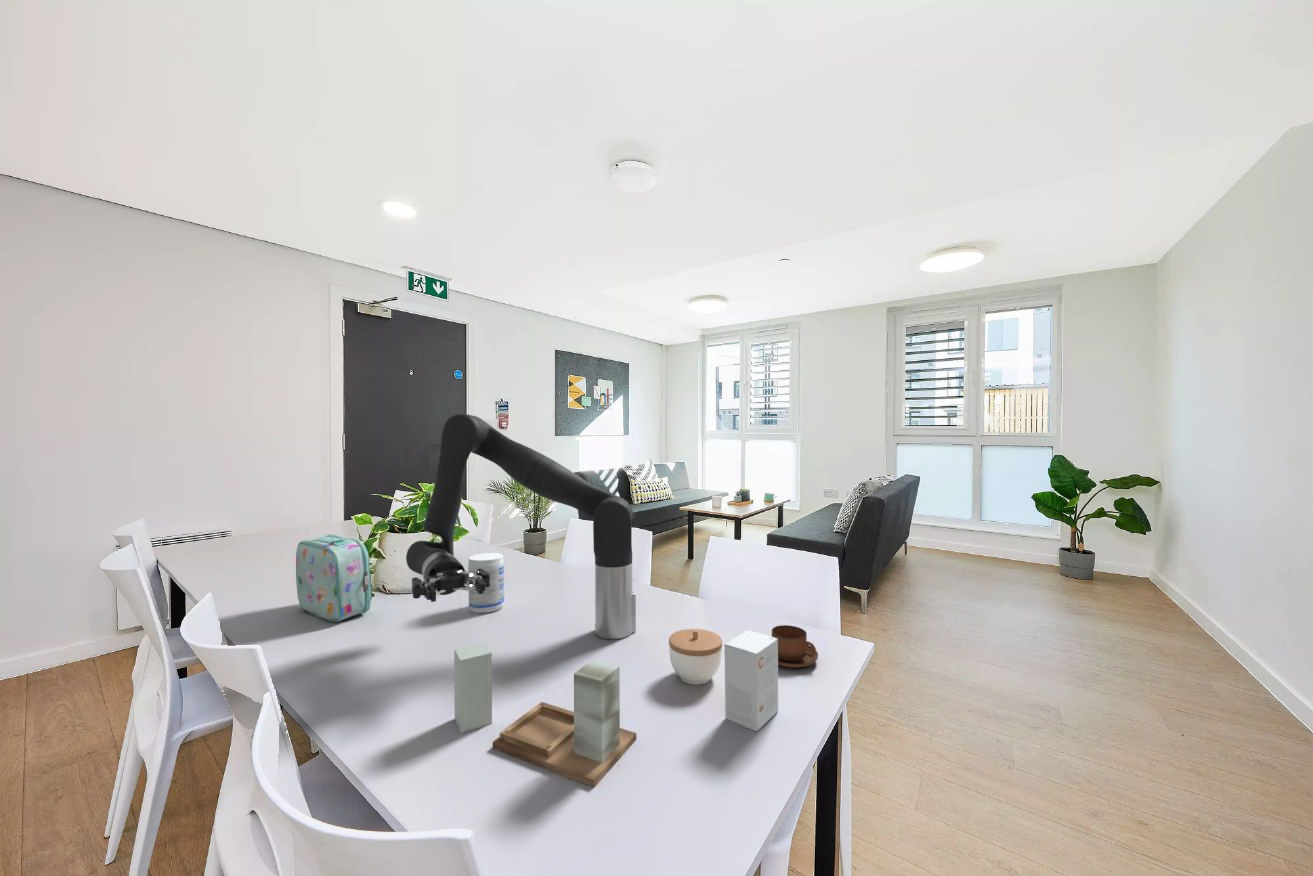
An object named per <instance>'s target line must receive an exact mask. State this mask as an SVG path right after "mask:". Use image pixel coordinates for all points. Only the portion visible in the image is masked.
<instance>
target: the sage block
mask: <svg viewBox="0 0 1313 876" xmlns="http://www.w3.org/2000/svg"><path fill="white" fill-rule="evenodd" d="M453 652H454V653H453V654H454V658H453V659H454V661H453V663H454V667H453V668H454V671H453V673H454V720H455V723H456V725H457V728H458V730H459V732H460V734H464V733H466V732H471V731H473V730H476V729H478V728H482V727H485V726H489V725H491V724H492V723H493V692H492V691H493V685H492V683H493V680H492V679H493V671H492V670H493V667H492V666H493V660H492V658H493V657H492V655H493V653H492V651H491V650H490V649H489V647H488V646H487V644H486V643H485V642H481V643H476V644H471V645H467V646H461V647H458V648H454V650H453Z"/></svg>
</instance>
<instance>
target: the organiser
mask: <svg viewBox="0 0 1313 876" xmlns="http://www.w3.org/2000/svg"><path fill="white" fill-rule="evenodd" d="M620 668H621V667H620V666H619V665H615V664H611V663H607V662H604V661H599V660H595V659H592V660H590V661H589V662H588V663H586V664H584V665H583V666H582V667H581V668H579V669H577V670H576V671H575V672H574V673H573V711H572V710H569V709H566V708H562V707H559V706H556V705H552V704H549V703H547V702H543V701H541V702H539V703H538V704H536V705H535V706H534V707H533V708H531V709H530V710H529V711H527V712H526V713H524V714H523V715H521V716H520V717H519V718H518V719H516V720H515V721H513V723H511V724H509V725H508V726H506V728H504V729H503V730H502V731H500V732H499V736H498V737H497V738H496V739H494V740H493V741H492V749H494V750H496V751H498V752H499V751H500V752H501V753H504V754H507V755H509V756H512V757H513V758H514V757H515V758H516V759H520V760H521V761H525V762H527V763H530V764H533V765H535V766H538V767H541V768H543V769H546V770H548V771H551V772H553V773H556V774H559V775H561V776H564V777H567V778H569V779H572V780H574V781H577V782H580V783H582V784H584V785H587V786H589V787H592V788H595V787H596V786H597V785H598V784H599V783H600V781H602V779H603V778H604V777H605V776H606V775H607V773H609V771H610V770H611V769H612V768H613V767H614V765H616V763H617V762H618V761H619V760H620V759H621V758H622V756H623V755H624V754H625V753H626V752H627V751H628V750H629V749H630V747H631V746H632V745H633V744H634V743H635V741H636V740H637V732H634V731H631V730H627V729H624V728H621V725H620V724H621V723H620V722H621V719H620V717H621V716H620V714H621V712H620V711H621V709H620V708H621V707H620V705H621V704H620V699H621V698H620V697H621V695H620V694H621V693H620V691H621V690H620V689H621V687H620V685H621V683H620V682H621V681H620V679H621V678H620V674H621V673H620V672H621V671H620Z"/></svg>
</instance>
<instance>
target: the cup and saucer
mask: <svg viewBox="0 0 1313 876" xmlns="http://www.w3.org/2000/svg"><path fill="white" fill-rule="evenodd" d="M807 635H808V634H807V632H806V630H804V629H803V628H801V627H799V626H795V625H787V624H786V625H783V624H781V625H776V626H774V627H773V628H772V629H771V637H774V638H777V639H778V666H781V667H785V668H790V669H791V668H793V669H796V668H797V669H799V668H806V667H810V666H811V665H813V664H815V663H816V662H817V661H818V659H819V653H818V651H817V648H816V647H815V645H814V643H812V642H810V641H808V640H807V637H808V636H807Z"/></svg>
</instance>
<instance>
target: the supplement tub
mask: <svg viewBox="0 0 1313 876" xmlns="http://www.w3.org/2000/svg"><path fill="white" fill-rule="evenodd" d="M504 563H505V562H504V555H503V554H502V553H498V552H484V553H478V554H474V555H471V556H469V557H468V563H467V564H468V565H467V569H468V571H467V572H472V573H476V571H477V569H483V570H485V571H486V572H487V573H489V574H490V587H486V590H485V591H483V594H479V593H478V592H477V591H476V590H475V589H471V590H468V609H469V611H470V612H473V613H476V614H486V613H492V612H495V611H496V612H497V611H498V610H501V609H502V608H503V607H504V605H505V570H504V569H505V566H504V565H505V564H504ZM473 584H474V585H475V579H473Z"/></svg>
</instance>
